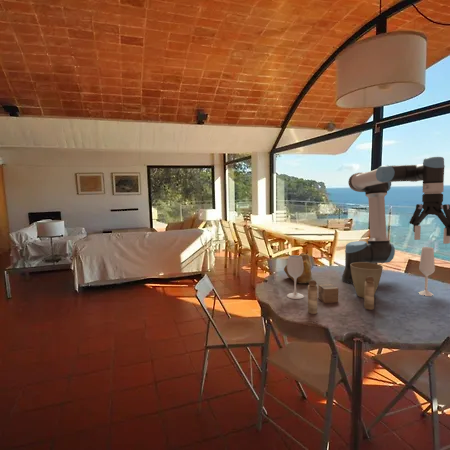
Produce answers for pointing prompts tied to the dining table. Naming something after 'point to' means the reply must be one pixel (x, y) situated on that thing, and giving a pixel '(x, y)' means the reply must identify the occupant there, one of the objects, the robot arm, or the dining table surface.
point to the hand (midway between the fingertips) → (431, 241)
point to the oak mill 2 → (369, 293)
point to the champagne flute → (427, 266)
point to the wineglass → (295, 273)
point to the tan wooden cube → (328, 293)
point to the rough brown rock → (306, 273)
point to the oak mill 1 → (312, 297)
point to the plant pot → (365, 275)
